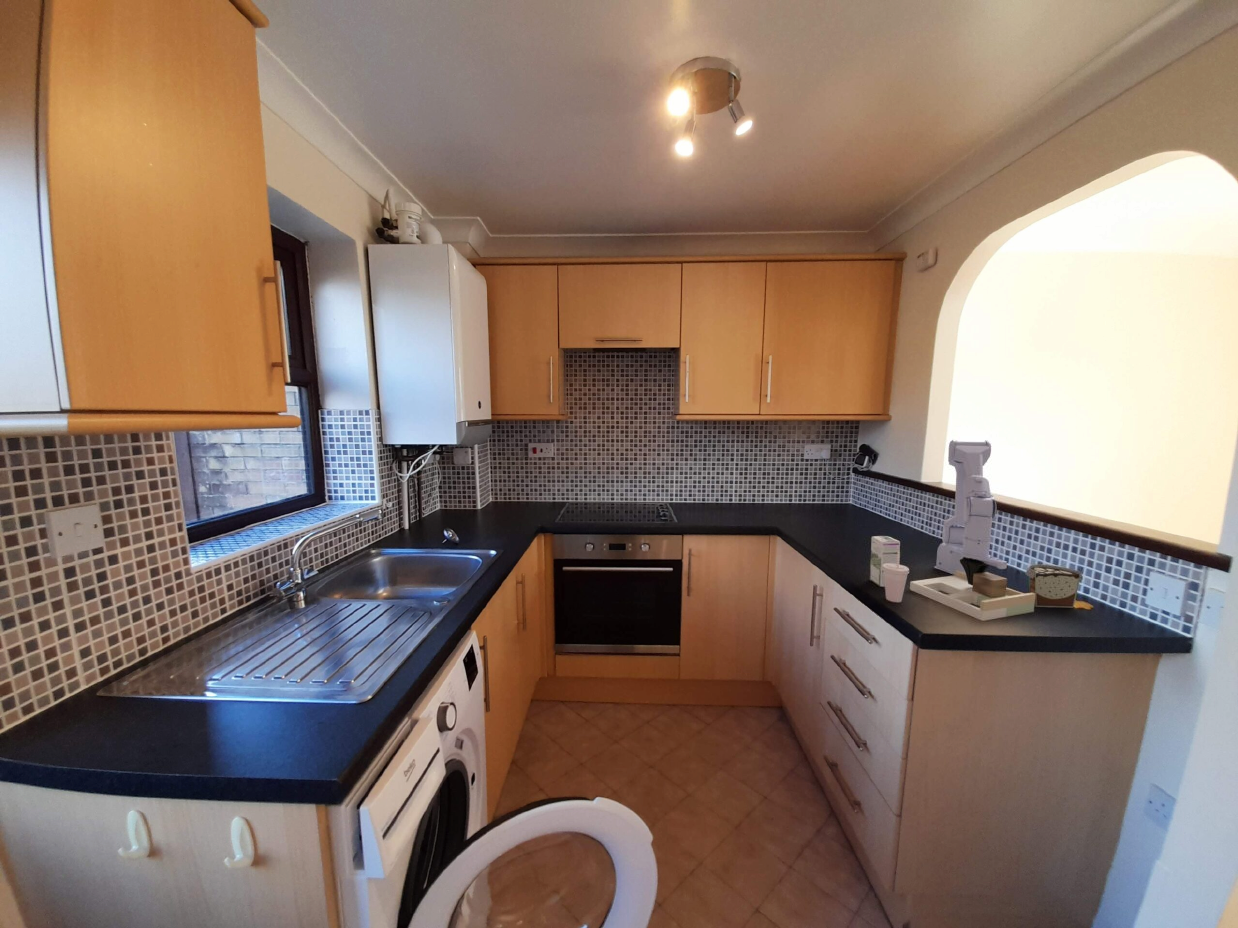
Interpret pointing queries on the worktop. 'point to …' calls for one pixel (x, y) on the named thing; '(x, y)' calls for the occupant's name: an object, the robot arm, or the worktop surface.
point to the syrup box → (882, 556)
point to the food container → (1053, 585)
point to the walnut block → (989, 584)
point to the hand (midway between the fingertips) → (972, 584)
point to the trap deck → (973, 597)
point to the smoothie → (895, 580)
